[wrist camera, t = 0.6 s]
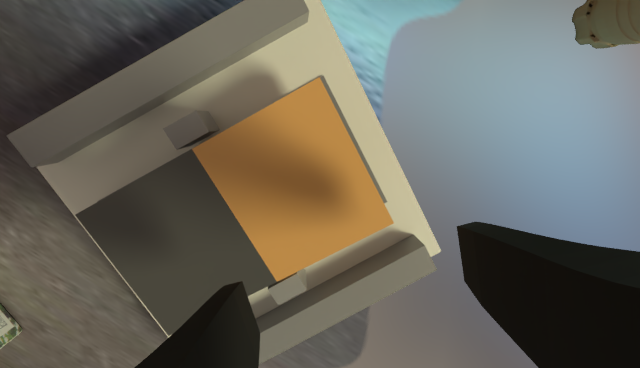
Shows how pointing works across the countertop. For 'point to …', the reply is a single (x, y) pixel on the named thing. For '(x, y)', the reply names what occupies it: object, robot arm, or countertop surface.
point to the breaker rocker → (240, 208)
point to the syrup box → (7, 327)
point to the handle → (607, 23)
